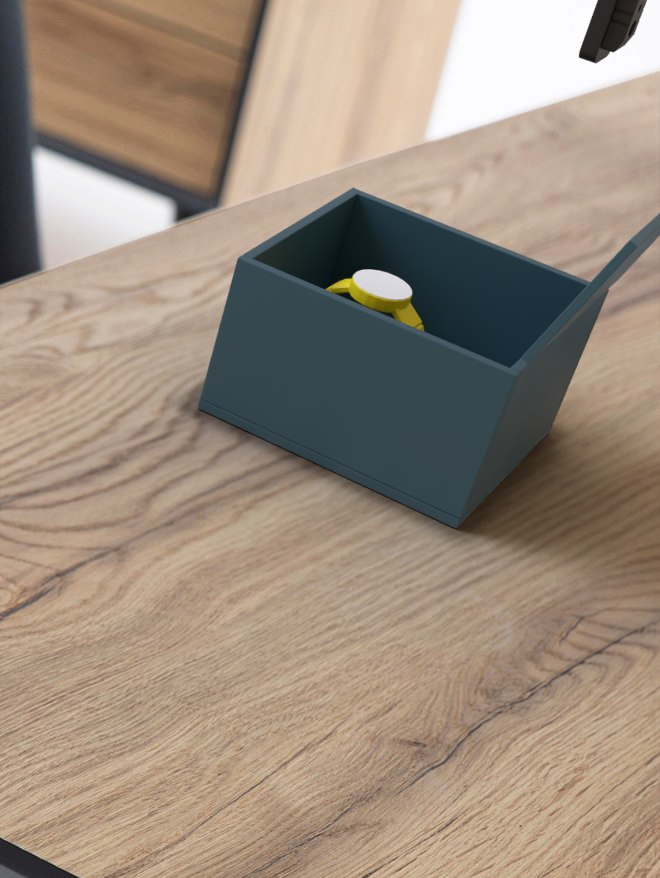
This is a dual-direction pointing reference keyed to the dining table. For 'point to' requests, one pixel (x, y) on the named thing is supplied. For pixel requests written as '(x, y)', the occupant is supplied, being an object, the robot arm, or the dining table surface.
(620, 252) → the flap
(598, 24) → the robot arm
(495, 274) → the carton
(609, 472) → the dining table surface
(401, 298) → the watch
